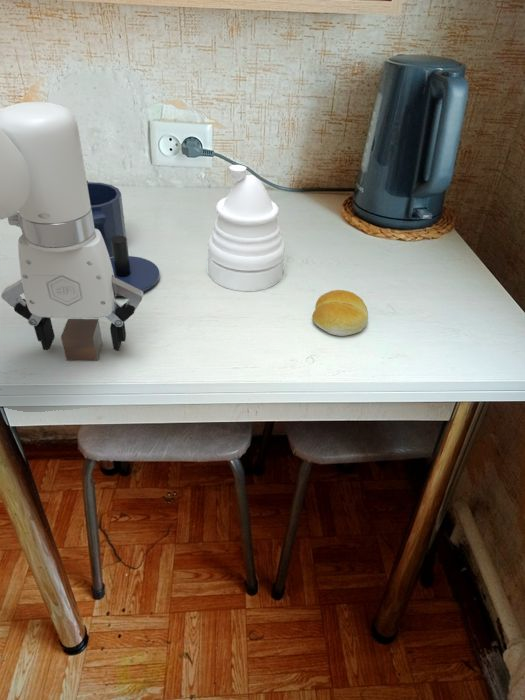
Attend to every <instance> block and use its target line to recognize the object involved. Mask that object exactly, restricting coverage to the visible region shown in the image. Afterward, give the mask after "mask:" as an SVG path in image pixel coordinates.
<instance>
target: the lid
mask: <svg viewBox="0 0 525 700" xmlns="http://www.w3.org/2000/svg"><path fill="white" fill-rule="evenodd" d="M111 245H112V252H113V256H112V257H110V260H111V264H112V268H113V272H114V277H115V278H117V279H119V280H121V281H123V282H125V283H127V284H129V285H131V286H133V287H135V288H137V289H139V290H141V291H143V292H146V291H147V290H150V289H151V288H153V287H154V286H155V285H156V284H157V283H158V281H159V280H160V269H159V267H158V266H157V264H155V263H154V262H152V261H151V260H149V259H146V258H143V257H140V256H134V255H133V256H132V255H129V245H128V238H127V236H126V237H124V236H114V237H112V238H111ZM116 297H123V296H122V295H120V294H118V293H117V295H116Z"/></svg>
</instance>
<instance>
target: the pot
mask: <svg viewBox="0 0 525 700" xmlns="http://www.w3.org/2000/svg"><path fill="white" fill-rule="evenodd" d="M86 180H87V186H88V192H89V198H90V205H91V209H92V215H93V222H94V228H95V229H98V230H99V231H100V232H101V235H102V237H103V239H104V242H105V245H106V248H107V251H108V254H109V257H110V258H112V257H113V252H112V245H111V238H112V237H114V236H124V237H126V238H127V232H126V223H125V217H124V215H125V214H124V207H123V197H122V192H121V191H120V189H119V188H118V187H116V186H114V185H112V184H109V183H104V182H94V181H93V182H92V181H89V180H88V179H86Z"/></svg>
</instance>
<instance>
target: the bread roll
mask: <svg viewBox="0 0 525 700" xmlns="http://www.w3.org/2000/svg"><path fill="white" fill-rule="evenodd" d="M314 306H315V307H314V308H315V310H314V311H313V313H312V318H311V319H312V322H313V324H315V325H316V326H317V327H318V328H319V329H322V330H323V331H325V332H326V333H328V334H330V335H333V336H339V337H341V336H342V337H343V336H352V335H354V334H357V333H360V332H362V331H363V330H364V328H365V327H366V326H367V323H368V322H369V311H368V307H367V305H366V303H365V302H364V300H363V298H361V297H360V296H359V295H357V294H356V293H354V292H352V291H349V290H344V289H336V290H335V289H334V290H331V291H328V292H326V293H323V294H322V295H320V296H319V297H318V299H317V300H316V303H315V305H314Z"/></svg>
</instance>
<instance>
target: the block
mask: <svg viewBox="0 0 525 700" xmlns="http://www.w3.org/2000/svg"><path fill="white" fill-rule="evenodd" d="M60 340H61V343H62V347H63V352H64V357H65V360H66V361H68V362H70V361H71V362H73V361H75V362H76V361H81V362H83V361H85V362H86V361H88V362H89V361H91V362H94V361H95V362H97V361H98V360H99V356H100V352H101V349H102V345H103V336H102V331H101V325H100V318H67V320H66V323H65V326H64V328H63V331H62V333H61V335H60Z"/></svg>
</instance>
